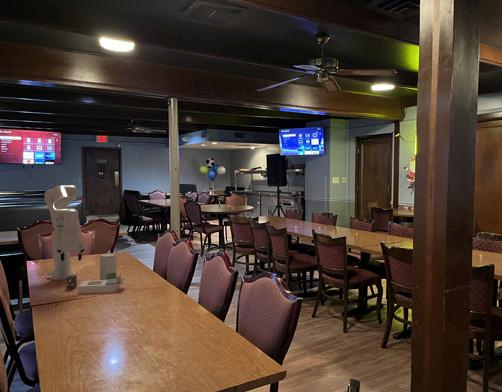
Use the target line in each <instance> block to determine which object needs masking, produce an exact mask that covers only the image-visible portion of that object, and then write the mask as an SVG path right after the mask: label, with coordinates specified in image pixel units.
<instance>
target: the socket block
mask: <svg viewBox="0 0 502 392" xmlns="http://www.w3.org/2000/svg"><path fill="white" fill-rule="evenodd" d="M107 281H108V280H100V279H96V280H95V279H93V280H92V279H91V280H84V281H82V282H81V283H80V284H79V285H77V289H78V293H77V294H81V295H82V294H100V293H117V291H118V290H119V289H120V286H121V284H106V285H105V283H106V282H107Z"/></svg>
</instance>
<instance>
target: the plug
mask: <svg viewBox="0 0 502 392" xmlns="http://www.w3.org/2000/svg"><path fill="white" fill-rule="evenodd" d="M77 277H78V275H77V274H73V275H69V276H68V277H67V279H66V289H67V290H74V289H76V288H78V281H77V280H78V278H77Z"/></svg>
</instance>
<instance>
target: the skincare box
mask: <svg viewBox="0 0 502 392" xmlns="http://www.w3.org/2000/svg"><path fill="white" fill-rule="evenodd" d="M117 275H118V274H117V254H113V253H107V254H101V255H99V280H109V279H117Z"/></svg>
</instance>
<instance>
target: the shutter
mask: <svg viewBox="0 0 502 392" xmlns="http://www.w3.org/2000/svg"><path fill="white" fill-rule="evenodd" d="M116 275H117V279H109V280H108V281H107V282H106V283H105V285H106V284H120V285H123V283H124V281H125V280H126V278H122V273H121V272H119V273H118V274H116Z"/></svg>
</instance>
